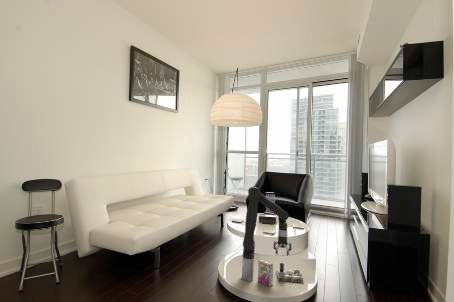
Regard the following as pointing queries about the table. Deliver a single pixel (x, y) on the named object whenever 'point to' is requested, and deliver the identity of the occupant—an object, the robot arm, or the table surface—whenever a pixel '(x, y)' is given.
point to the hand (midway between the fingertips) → (282, 254)
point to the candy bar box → (265, 273)
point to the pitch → (291, 277)
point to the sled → (281, 270)
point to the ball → (290, 272)
